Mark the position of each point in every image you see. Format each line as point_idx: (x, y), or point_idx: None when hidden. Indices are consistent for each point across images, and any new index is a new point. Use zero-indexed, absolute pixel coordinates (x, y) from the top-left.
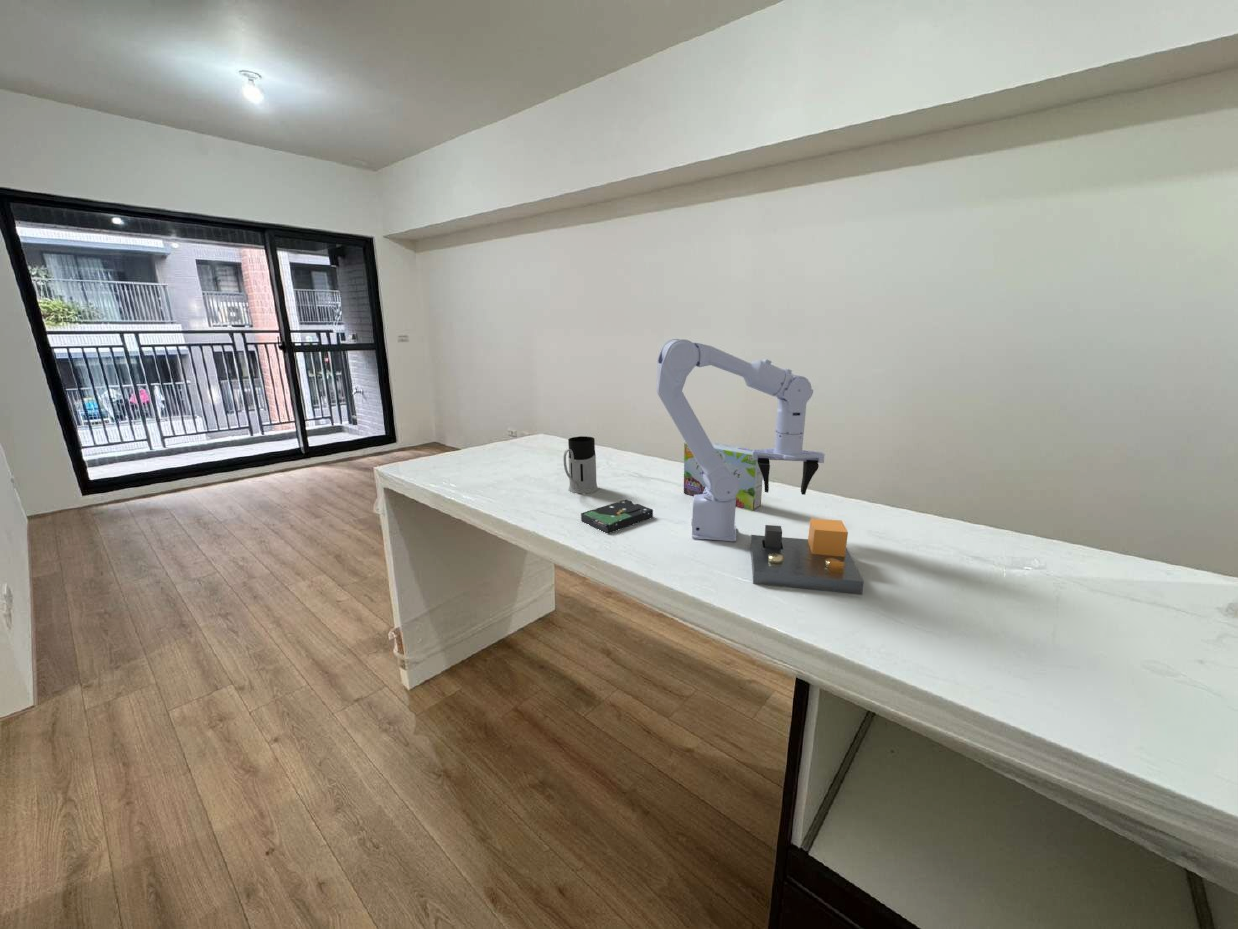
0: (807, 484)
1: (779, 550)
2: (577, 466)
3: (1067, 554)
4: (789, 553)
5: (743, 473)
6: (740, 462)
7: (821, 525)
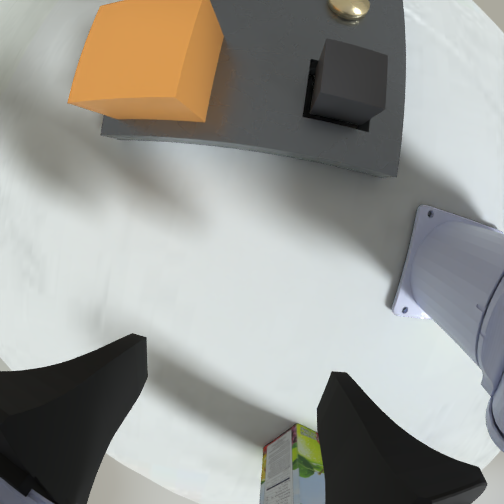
0: (92, 353)
1: None
2: None
3: None
4: (296, 34)
5: None
6: None
7: (159, 30)
